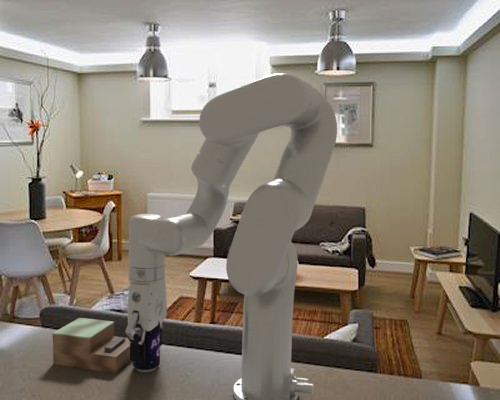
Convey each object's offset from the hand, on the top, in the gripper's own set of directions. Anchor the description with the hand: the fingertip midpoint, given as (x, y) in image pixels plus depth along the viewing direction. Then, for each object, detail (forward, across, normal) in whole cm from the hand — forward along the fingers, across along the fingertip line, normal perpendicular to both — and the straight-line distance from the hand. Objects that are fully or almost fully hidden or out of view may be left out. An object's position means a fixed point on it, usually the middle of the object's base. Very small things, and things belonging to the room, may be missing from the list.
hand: (146, 352), depth 101 cm
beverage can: (+4, 0, 0) cm, 4 cm away
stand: (+3, +1, +12) cm, 13 cm away
